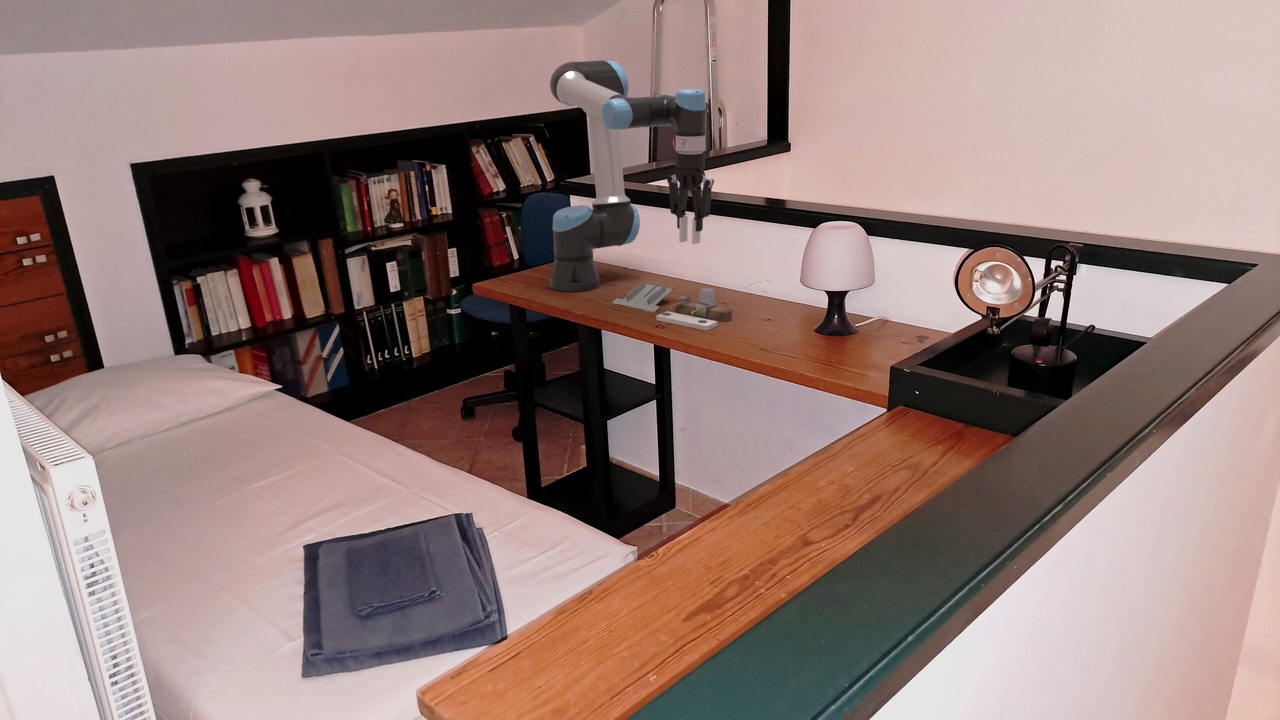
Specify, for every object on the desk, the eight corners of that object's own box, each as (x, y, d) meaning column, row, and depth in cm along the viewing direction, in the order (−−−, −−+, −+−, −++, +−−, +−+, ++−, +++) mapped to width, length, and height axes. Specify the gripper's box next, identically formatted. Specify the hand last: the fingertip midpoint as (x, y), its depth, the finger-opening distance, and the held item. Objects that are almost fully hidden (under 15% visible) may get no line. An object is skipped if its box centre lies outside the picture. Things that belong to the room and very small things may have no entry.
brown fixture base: (666, 315, 246) (666, 301, 245) (681, 309, 252) (681, 295, 250) (716, 326, 237) (717, 311, 236) (731, 319, 242) (731, 304, 241)
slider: (687, 318, 241) (687, 294, 239) (706, 310, 248) (707, 286, 246) (696, 320, 239) (697, 296, 237) (716, 311, 246) (716, 288, 244)
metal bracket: (636, 275, 265) (679, 283, 257) (640, 293, 268) (682, 300, 260) (607, 300, 256) (650, 308, 248) (611, 317, 259) (654, 326, 251)
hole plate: (656, 320, 243) (656, 315, 242) (667, 315, 246) (667, 310, 246) (706, 330, 233) (707, 325, 233) (717, 325, 237) (717, 321, 237)
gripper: (655, 151, 236) (656, 241, 244) (709, 156, 226) (708, 248, 234) (672, 148, 241) (672, 236, 249) (725, 152, 232) (723, 243, 240)
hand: (689, 242), depth 242 cm, fingers open, 3 cm apart
